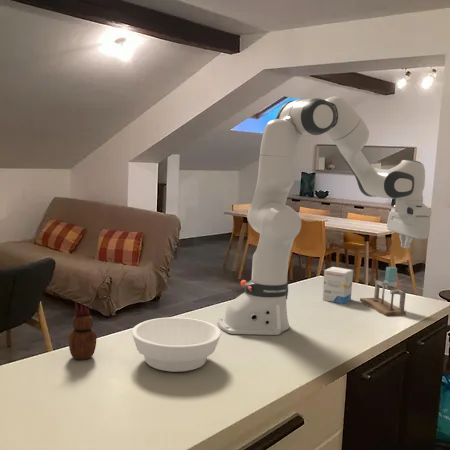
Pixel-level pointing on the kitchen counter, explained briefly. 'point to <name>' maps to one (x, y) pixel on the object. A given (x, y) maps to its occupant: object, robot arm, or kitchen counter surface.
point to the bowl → (176, 342)
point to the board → (386, 307)
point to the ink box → (337, 285)
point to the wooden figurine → (82, 334)
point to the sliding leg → (389, 279)
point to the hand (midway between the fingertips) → (405, 247)
